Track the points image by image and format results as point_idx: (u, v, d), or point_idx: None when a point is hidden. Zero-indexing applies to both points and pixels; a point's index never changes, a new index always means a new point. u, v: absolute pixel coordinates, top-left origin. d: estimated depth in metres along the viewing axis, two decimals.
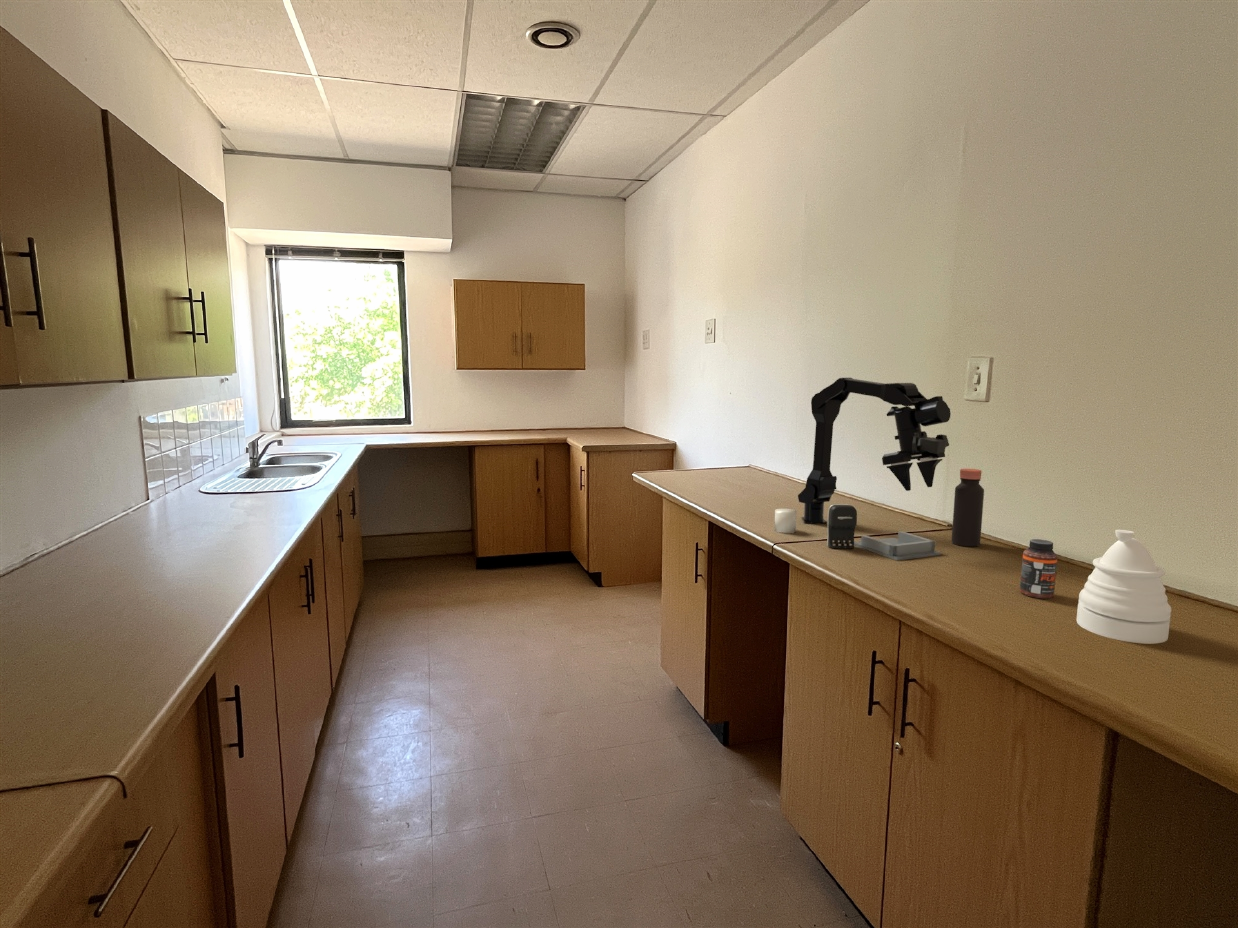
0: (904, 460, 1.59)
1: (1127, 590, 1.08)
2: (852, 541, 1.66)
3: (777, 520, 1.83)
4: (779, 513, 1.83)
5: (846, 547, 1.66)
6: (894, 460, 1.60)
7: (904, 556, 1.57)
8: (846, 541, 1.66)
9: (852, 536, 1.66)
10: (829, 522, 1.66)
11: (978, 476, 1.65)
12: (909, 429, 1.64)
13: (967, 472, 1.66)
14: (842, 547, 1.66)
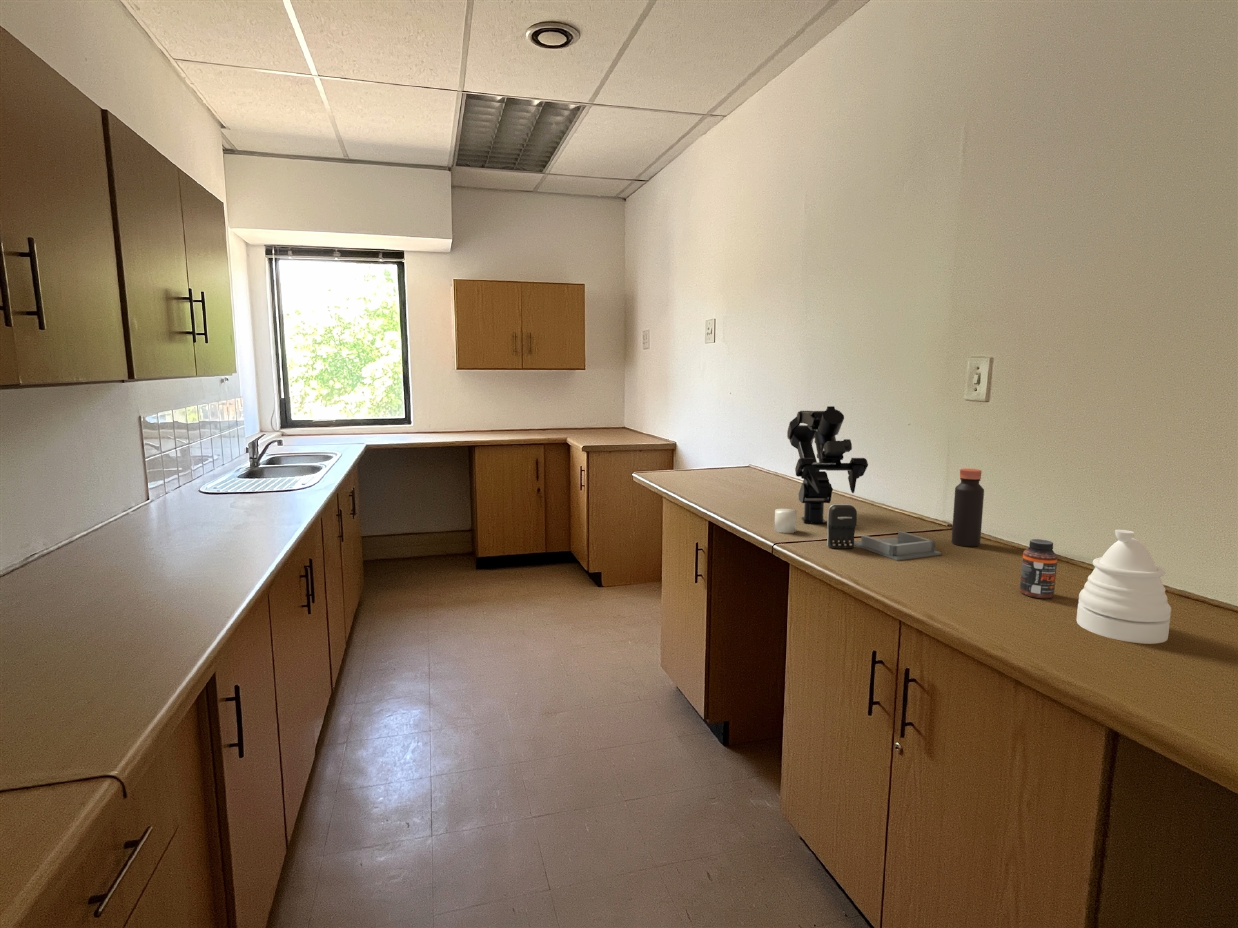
0: (802, 462, 1.75)
1: (1127, 590, 1.08)
2: (852, 541, 1.66)
3: (777, 520, 1.83)
4: (779, 513, 1.83)
5: (846, 547, 1.66)
6: (798, 466, 1.77)
7: (904, 556, 1.57)
8: (846, 541, 1.66)
9: (852, 536, 1.66)
10: (829, 522, 1.66)
11: (978, 476, 1.65)
12: (819, 443, 1.81)
13: (967, 472, 1.66)
14: (842, 547, 1.66)
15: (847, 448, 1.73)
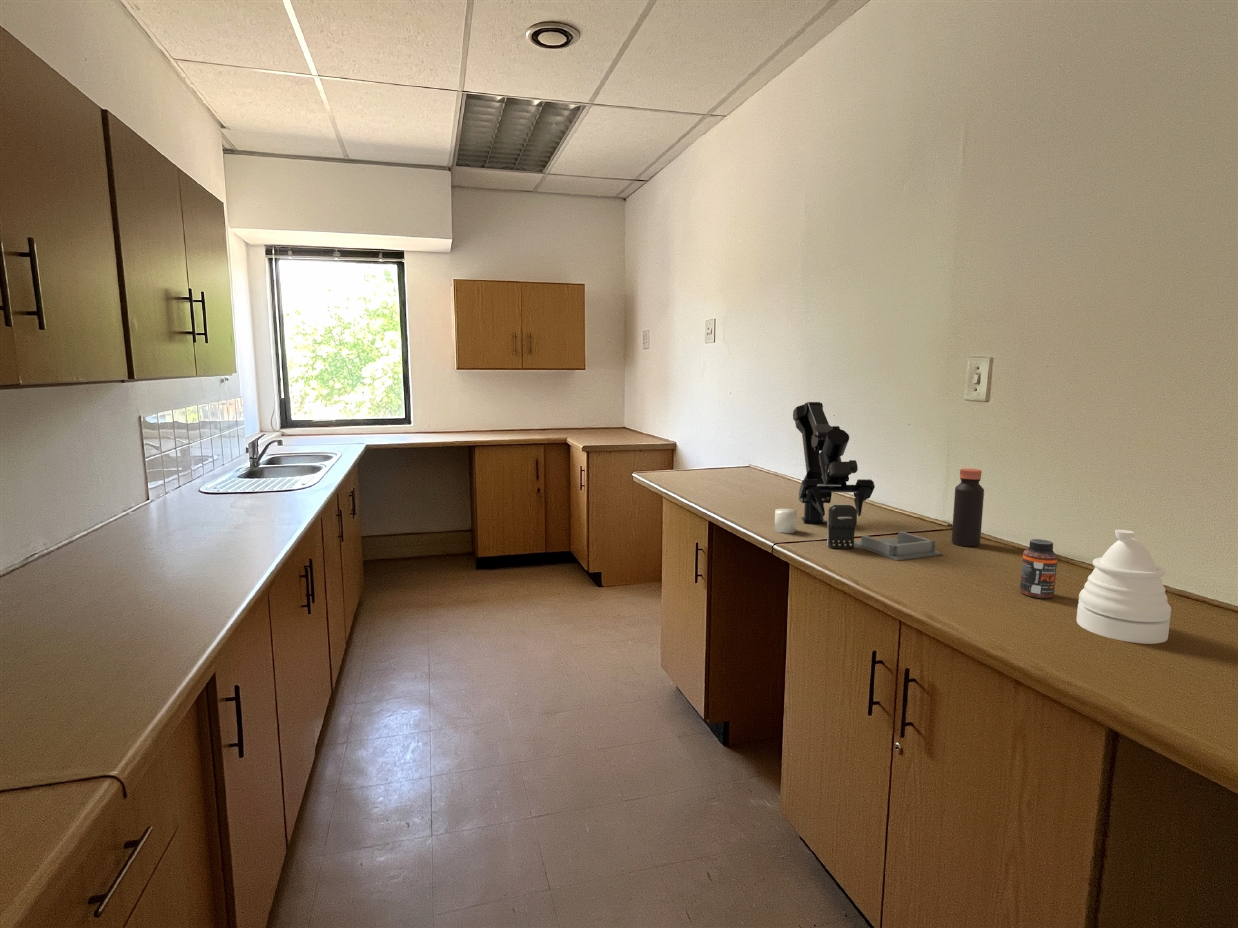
0: (806, 484, 1.69)
1: (1127, 590, 1.08)
2: (852, 541, 1.66)
3: (777, 520, 1.83)
4: (779, 513, 1.83)
5: (846, 547, 1.66)
6: (802, 487, 1.71)
7: (904, 556, 1.57)
8: (846, 541, 1.66)
9: (852, 536, 1.66)
10: (829, 522, 1.66)
11: (978, 476, 1.65)
12: (824, 464, 1.75)
13: (967, 472, 1.66)
14: (842, 547, 1.66)
15: (853, 469, 1.67)
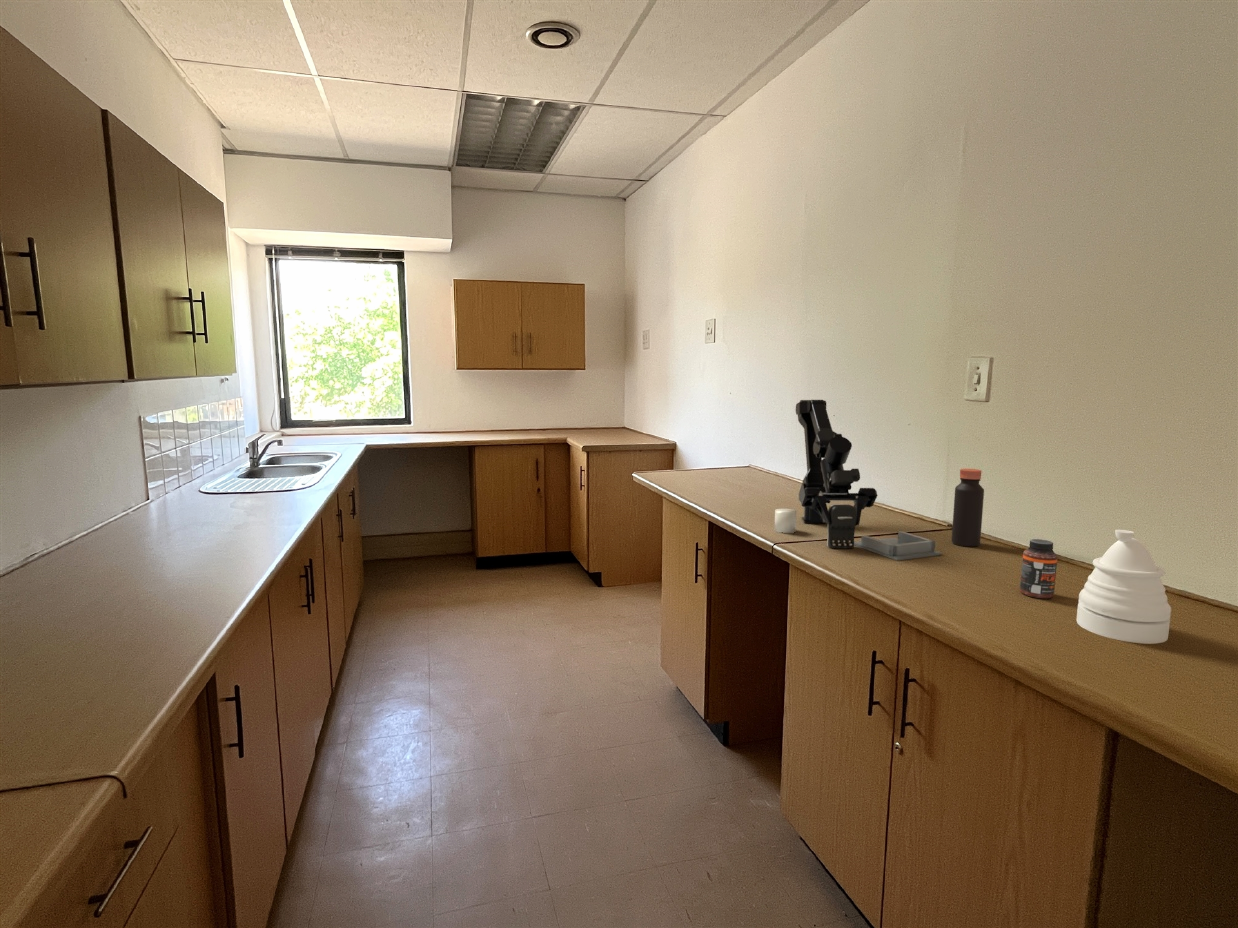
0: (808, 493, 1.67)
1: (1127, 590, 1.08)
2: (852, 541, 1.66)
3: (777, 520, 1.83)
4: (779, 513, 1.83)
5: (846, 547, 1.66)
6: (803, 496, 1.69)
7: (904, 556, 1.57)
8: (846, 541, 1.66)
9: (852, 536, 1.66)
10: None
11: (978, 476, 1.65)
12: (826, 472, 1.73)
13: (967, 472, 1.66)
14: (842, 547, 1.66)
15: (855, 478, 1.65)
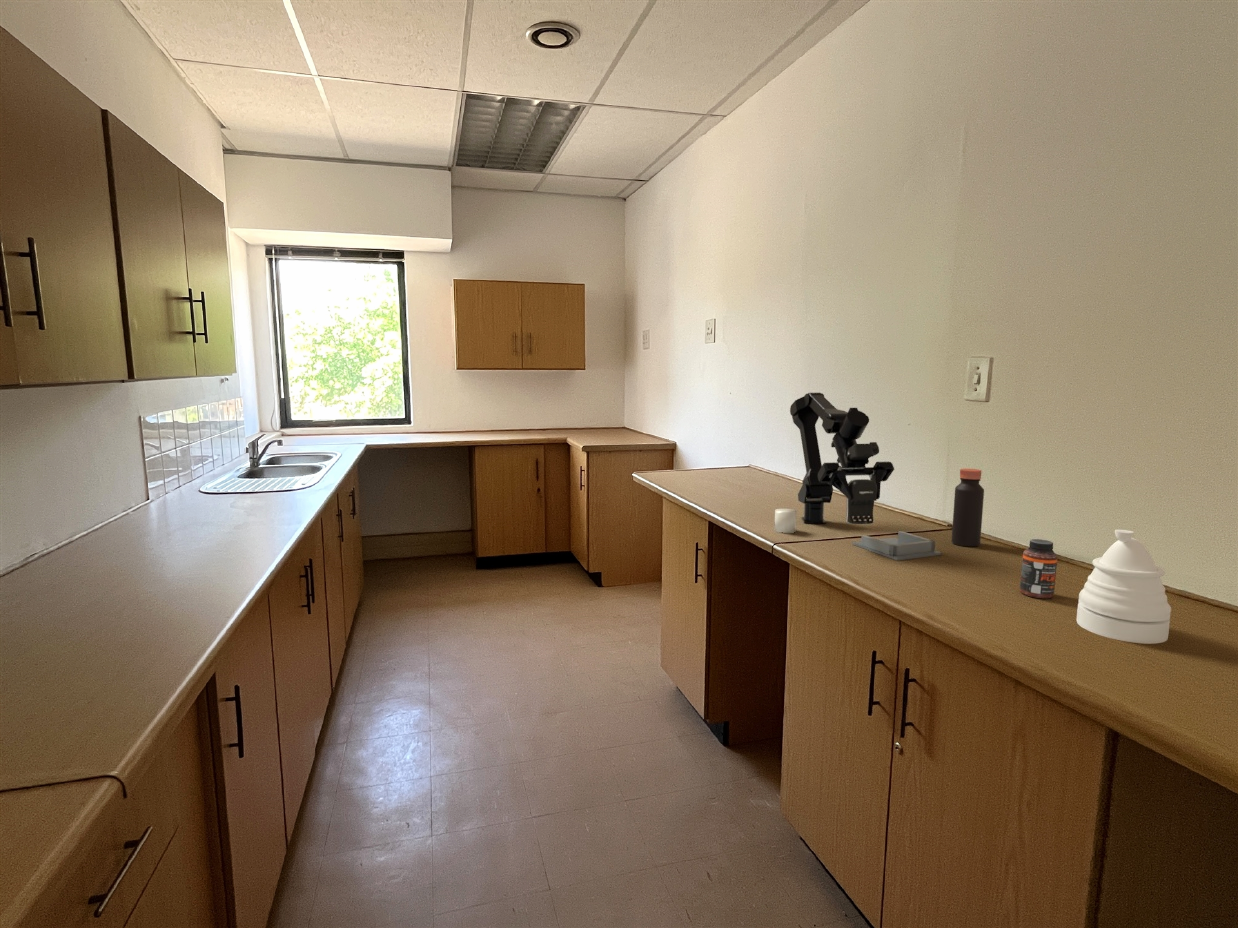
0: (828, 467, 1.64)
1: (1127, 590, 1.08)
2: (871, 516, 1.65)
3: (777, 520, 1.83)
4: (779, 513, 1.83)
5: (866, 522, 1.64)
6: (822, 471, 1.66)
7: (904, 556, 1.57)
8: (865, 516, 1.65)
9: (871, 511, 1.65)
10: None
11: (978, 476, 1.65)
12: (841, 447, 1.70)
13: (967, 472, 1.66)
14: (862, 522, 1.64)
15: (874, 451, 1.63)
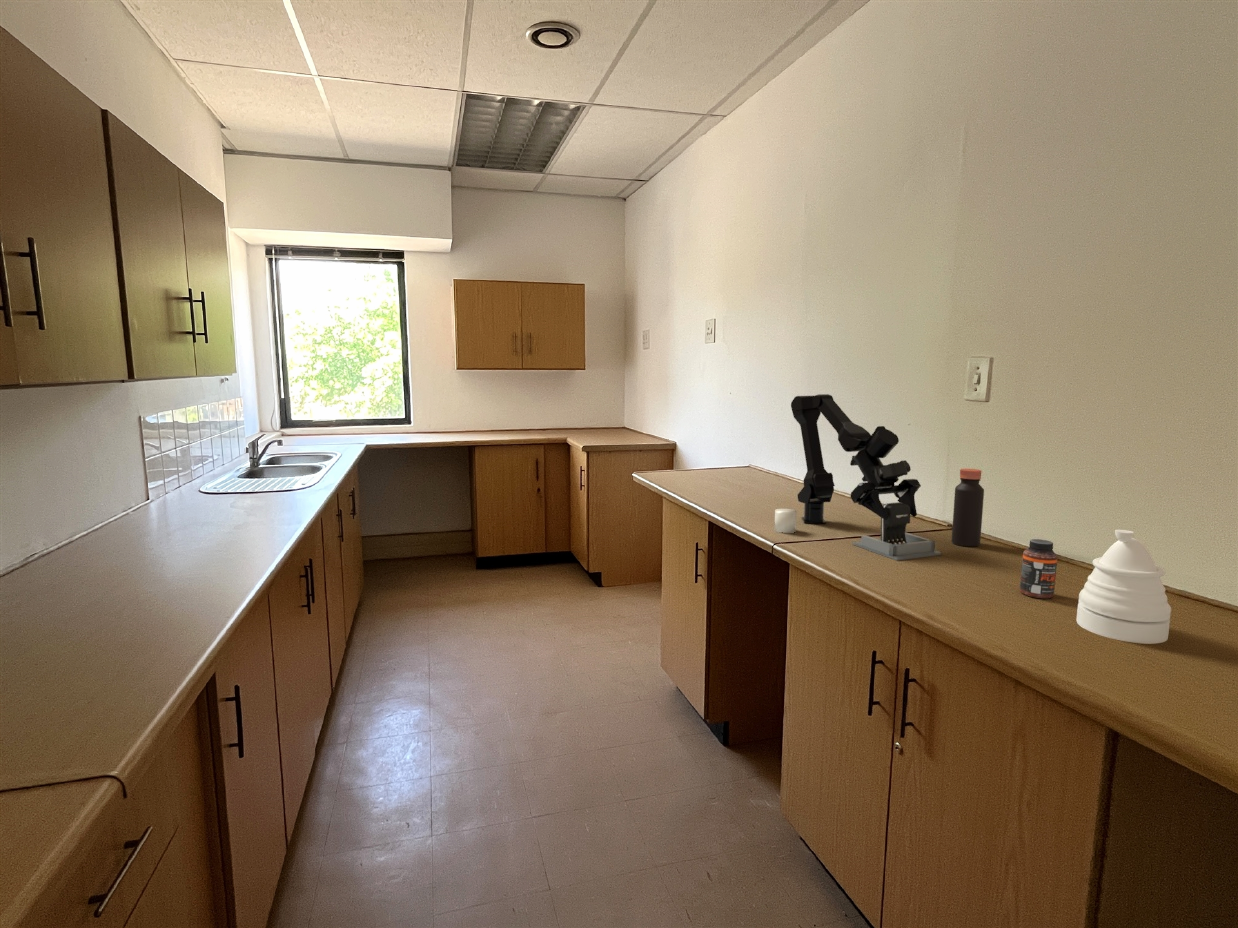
0: (866, 488, 1.62)
1: (1127, 590, 1.08)
2: (904, 539, 1.66)
3: (777, 520, 1.83)
4: (779, 513, 1.83)
5: None
6: (859, 492, 1.63)
7: (904, 556, 1.57)
8: (899, 539, 1.65)
9: (903, 534, 1.66)
10: (886, 522, 1.63)
11: (978, 476, 1.65)
12: (869, 465, 1.69)
13: (967, 472, 1.66)
14: None
15: (907, 470, 1.64)
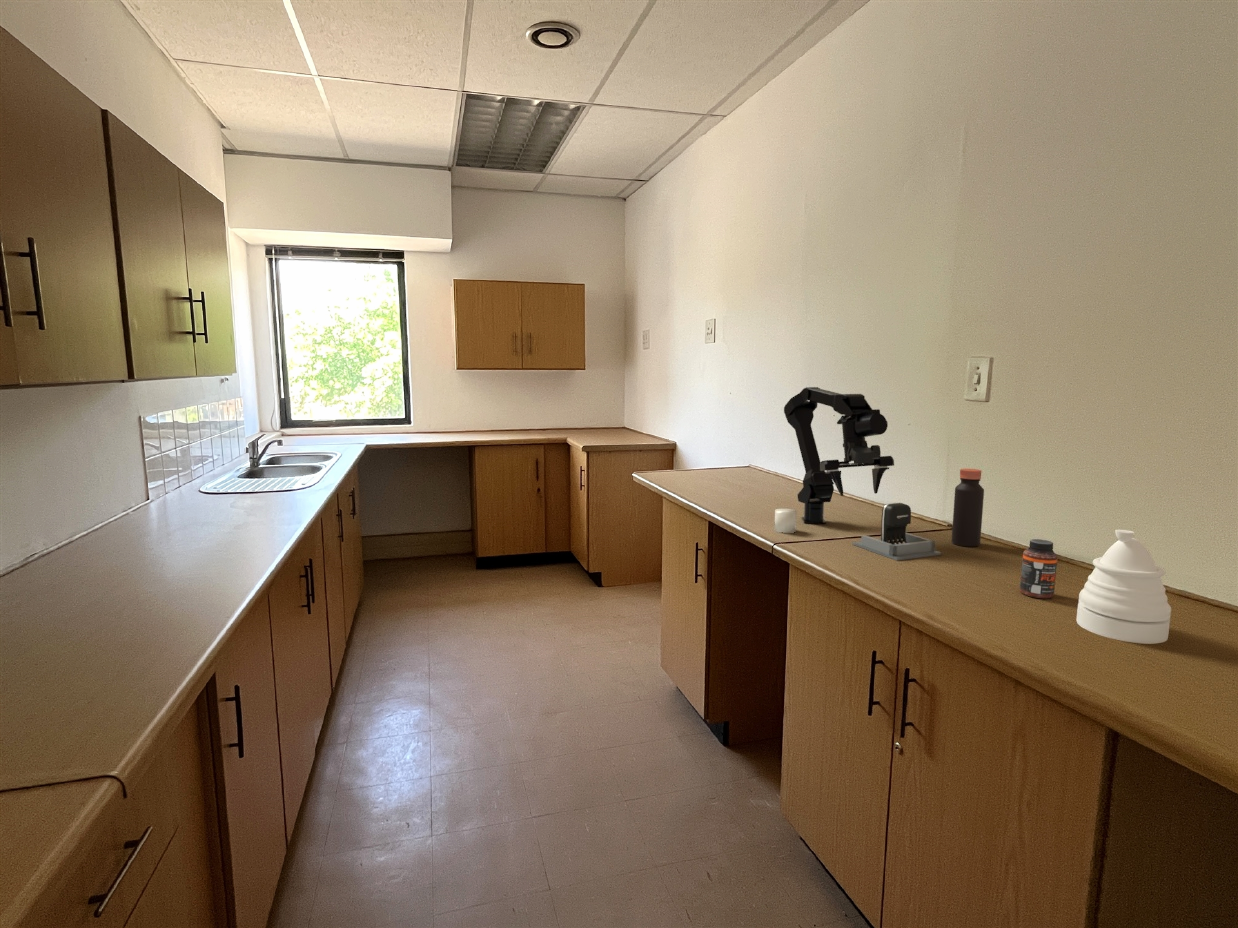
0: (828, 468, 1.74)
1: (1127, 590, 1.08)
2: (904, 539, 1.66)
3: (777, 520, 1.83)
4: (779, 513, 1.83)
5: None
6: (823, 467, 1.76)
7: (904, 556, 1.57)
8: (899, 540, 1.65)
9: (904, 534, 1.66)
10: (886, 522, 1.63)
11: (978, 476, 1.65)
12: (847, 439, 1.75)
13: (967, 472, 1.66)
14: None
15: (875, 457, 1.70)
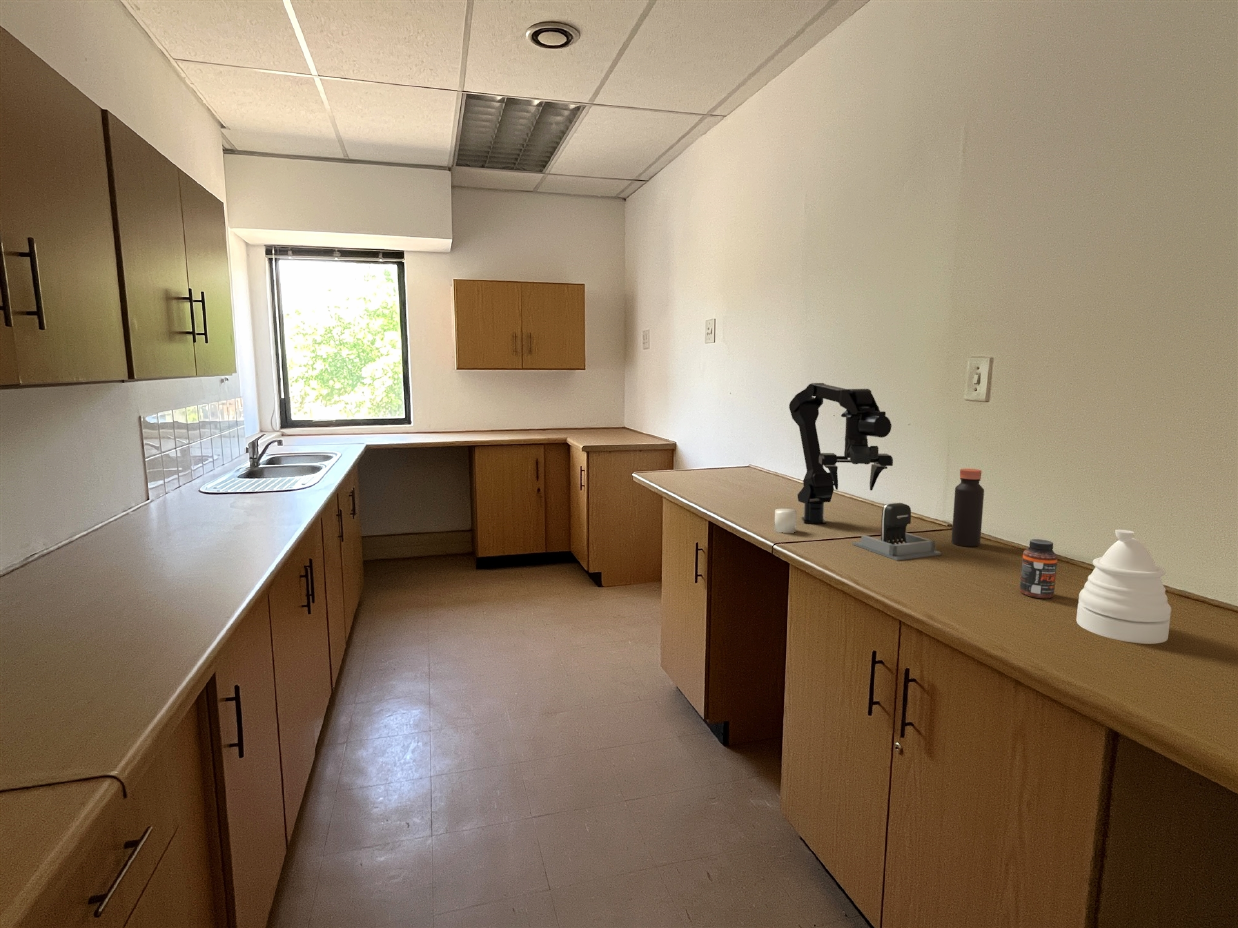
0: (825, 463, 1.75)
1: (1127, 590, 1.08)
2: (904, 539, 1.66)
3: (777, 520, 1.83)
4: (779, 513, 1.83)
5: None
6: (820, 461, 1.77)
7: (904, 556, 1.57)
8: (899, 540, 1.65)
9: (904, 534, 1.66)
10: (886, 522, 1.63)
11: (978, 476, 1.65)
12: (848, 435, 1.74)
13: (967, 472, 1.66)
14: None
15: (873, 458, 1.69)
